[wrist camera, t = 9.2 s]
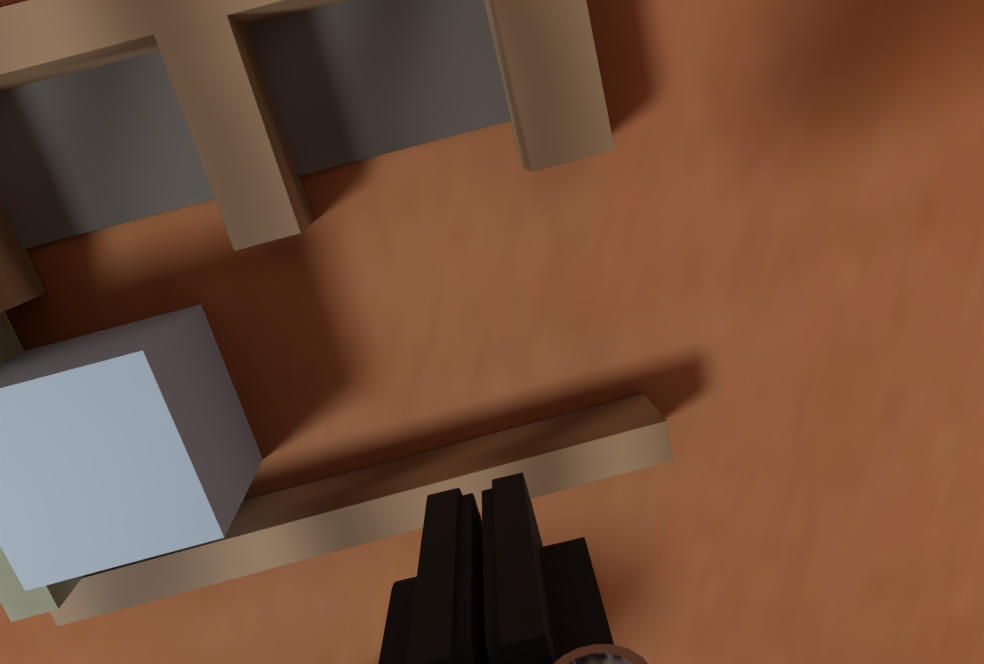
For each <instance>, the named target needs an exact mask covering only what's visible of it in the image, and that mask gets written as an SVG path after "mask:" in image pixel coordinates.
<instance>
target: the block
mask: <svg viewBox="0 0 984 664" xmlns="http://www.w3.org/2000/svg"><path fill="white" fill-rule="evenodd" d="M262 461H263V458H262V456H261V453H260V451H259V448H258V446H257V443H256V441H255V438H254V436H253V433H252V431H251V428H250V426H249V423H248V421H247V418H246V416H245V413H244V411H243V408H242V406H241V403H240V401H239V398H238V396H237V393H236V391H235V388H234V385H233V383H232V380H231V378H230V375H229V373H228V370H227V368H226V365H225V363H224V360H223V358H222V355H221V353H220V350H219V348H218V345H217V343H216V340H215V338H214V335H213V333H212V330H211V328H210V325H209V323H208V320H207V317H206V315H205V312H204V310H203V307H202V305H201V304H200V305H196V306H192V307H188V308H185V309H181V310H177V311H173V312H169V313H166V314H162V315H158V316H154V317H151V318H147V319H143V320H139V321H136V322H132V323H128V324H124V325H121V326H117V327H113V328H109V329H106V330H102V331H98V332H94V333H91V334H87V335H83V336H79V337H75V338H72V339H68V340H64V341H60V342H57V343H53V344H49V345H45V346H42V347H38V348H34V349H30V350H27V351H25V352H23V353H21V354H20V355H18V356H16V357H14V358H12V359H11V360H9V361H7V362H5V363H4V364H2V365H0V547H1V548H2V550H3V552H4V554H5V556H6V557H7V559H8V561H9V563H10V565H11V566H12V568H13V570H14V572H15V574H16V575H17V577H18V579H19V581H20V583H21V584H22V586H23V588H24V590H25V591H27V590H31V589H35V588H38V587H42V586H46V585H49V584H53V583H57V582H61V581H64V580H68V579H72V578H76V577H79V576H83V575H87V574H91V573H94V572H98V571H102V570H105V569H109V568H113V567H117V566H120V565H124V564H128V563H132V562H135V561H139V560H143V559H146V558H150V557H154V556H158V555H161V554H165V553H169V552H173V551H176V550H180V549H184V548H187V547H191V546H195V545H199V544H202V543H206V542H210V541H214V540H217V539H221V538H224V537H225V535H226V533H227V531H228V529H229V527H230V525H231V523H232V521H233V519H234V517H235V515H236V513H237V511H238V509H239V507H240V505H241V503H242V501H243V499H244V497H245V495H246V493H247V491H248V489H249V487H250V485H251V483H252V481H253V479H254V477H255V475H256V473H257V471H258V469H259V467H260V465H261V463H262Z"/></svg>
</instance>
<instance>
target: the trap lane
mask: <svg viewBox="0 0 984 664" xmlns="http://www.w3.org/2000/svg"><path fill="white" fill-rule="evenodd" d="M510 120H511V124H512V128H513V132H514V136H515V141H516V145H517V149H518V154H519V158H520V162H521V167H523V168H526V169H528V170H530V171H532V172H533V171H537V170H540V169H544V168H548V167H552V166H555V165H559V164H563V163H567V162H571V161H574V160H578V159H582V158H586V157H589V156H593V155H597V154H601V153H604V152H608V151H612V150H615V149H614V144H613V138H612V133H611V128H610V123H609V117H608V112H607V107H606V101H605V96H604V91H603V86H602V80H601V75H600V70H599V65H598V59H597V54H596V49H595V44H594V38H593V33H592V28H591V23H590V17H589V12H588V7H587V2H586V0H27V1H23V2H20V3H16V4H12V5H8V6H4V7H0V365H2V364H4V363H5V362H7V361H9V360H11V359H12V358H14V357H16V356H18V355H20V354H21V353H23V352H25V351H24V349H23V347H22V345H21V343H20V341H19V338H18V336H17V334H16V332H15V330H14V328H13V326H12V324H11V322H10V320H9V318H8V316H7V314H6V312H5V311H6V310H8V309H11V308H13V307H15V306H18V305H20V304H22V303H24V302H27V301H29V300H31V299H33V298H36V297H38V296H40V295H43V294H45V293H47V292H46V290H45V288H44V286H43V284H42V282H41V279H40V277H39V275H38V273H37V271H36V269H35V267H34V264H33V262H32V260H31V258H30V256H29V254H28V252H27V250H26V249H27V248H30V247H34V246H38V245H42V244H45V243H49V242H53V241H57V240H61V239H64V238H68V237H72V236H76V235H79V234H83V233H87V232H91V231H94V230H98V229H102V228H106V227H110V226H113V225H117V224H121V223H125V222H128V221H132V220H136V219H140V218H144V217H147V216H151V215H155V214H159V213H162V212H166V211H170V210H174V209H178V208H181V207H185V206H189V205H193V204H196V203H200V202H204V201H208V200H212V199H215V200H216V203H217V206H218V208H219V211H220V214H221V216H222V219H223V222H224V224H225V227H226V230H227V232H228V235H229V238H230V241H231V243H232V246H233V249H234V251H236V250H239V249H243V248H247V247H251V246H254V245H258V244H262V243H266V242H269V241H273V240H277V239H281V238H284V237H288V236H292V235H296V234H300V233H302V232H303V231H304V230H305V229H306V228H307V227H309V226H310V225H311V224H312V223H313V222H314V219H313V216H312V213H311V210H310V207H309V204H308V201H307V197H306V194H305V191H304V188H303V185H302V182H301V179H300V176H302V175H306V174H310V173H313V172H317V171H321V170H325V169H329V168H332V167H336V166H340V165H344V164H347V163H351V162H355V161H359V160H362V159H366V158H370V157H374V156H378V155H381V154H385V153H389V152H393V151H396V150H400V149H404V148H408V147H412V146H415V145H419V144H423V143H427V142H430V141H434V140H438V139H442V138H446V137H449V136H453V135H457V134H461V133H464V132H468V131H472V130H476V129H480V128H483V127H487V126H491V125H495V124H498V123H502V122H506V121H510ZM672 460H674V459H673V454H672V449H671V444H670V438H669V433H668V428H667V423H666V420H665V419H664V418H663V416H662V415H661V414H660V412H659V411H658V410H657V409H656V407H655V406H654V405H653V404H652V402H651V401H650V400H649V399H648V397H647V396H646V395H645V394H644V393H642V394H638V395H634V396H630V397H627V398H623V399H619V400H616V401H612V402H608V403H604V404H601V405H597V406H593V407H590V408H586V409H582V410H578V411H575V412H571V413H567V414H564V415H560V416H556V417H552V418H549V419H545V420H541V421H537V422H534V423H530V424H526V425H523V426H519V427H515V428H511V429H508V430H504V431H500V432H497V433H493V434H489V435H485V436H482V437H478V438H474V439H471V440H467V441H463V442H459V443H456V444H452V445H448V446H445V447H441V448H437V449H433V450H430V451H426V452H422V453H418V454H415V455H411V456H407V457H404V458H400V459H396V460H392V461H389V462H385V463H381V464H378V465H374V466H370V467H366V468H363V469H359V470H355V471H352V472H348V473H344V474H340V475H337V476H333V477H329V478H326V479H322V480H318V481H314V482H311V483H307V484H303V485H299V486H296V487H292V488H288V489H285V490H281V491H277V492H273V493H270V494H266V495H262V496H259V497H255V498H251V499H247V500H244V501H242V503H241V505H240V507H239V509H238V511H237V513H236V515H235V517H234V519H233V521H232V523H231V525H230V527H229V529H228V531H227V533H226V535H225V537H224V538H221V539H217V540H214V541H210V542H206V543H202V544H199V545H195V546H191V547H187V548H184V549H180V550H176V551H173V552H169V553H165V554H161V555H158V556H154V557H150V558H146V559H143V560H139V561H135V562H132V563H128V564H124V565H120V566H117V567H113V568H109V569H105V570H102V571H98V572H94V573H91V574H87V575H83V576H79V577H76V578H72V579H68V580H64V581H61V582H57V583H53V584H49V585H46V586H42V587H38V588H35V589H31V590H27V591H25V590H24V588H23V586H22V584H21V583H20V581H19V579H18V577H17V575H16V574H15V572H14V570H13V568H12V566H11V565H10V563H9V561H8V559H7V557H6V556H5V554H4V552H3V550H2V548H1V547H0V603H1V604H2V606H3V608H4V610H5V611H6V613H7V615H8V617H9V618H10V620H11V622H12V621H15V620H19V619H23V618H27V617H30V616H34V615H38V614H41V613H45V612H50V613H51V615H52V617H53V619H54V621H55V623H56V624H57V626H60V625H64V624H68V623H72V622H75V621H79V620H83V619H86V618H90V617H94V616H98V615H101V614H105V613H109V612H112V611H116V610H120V609H123V608H127V607H131V606H135V605H138V604H142V603H146V602H149V601H153V600H157V599H160V598H164V597H168V596H172V595H175V594H179V593H183V592H186V591H190V590H194V589H198V588H201V587H205V586H209V585H212V584H216V583H220V582H223V581H227V580H231V579H235V578H238V577H242V576H246V575H249V574H253V573H257V572H261V571H264V570H268V569H272V568H275V567H279V566H283V565H286V564H290V563H294V562H298V561H301V560H305V559H309V558H312V557H316V556H320V555H324V554H327V553H331V552H335V551H338V550H342V549H346V548H349V547H353V546H357V545H361V544H364V543H368V542H372V541H375V540H379V539H383V538H386V537H390V536H394V535H398V534H401V533H405V532H409V531H412V530H416V529H420V528H423V525H424V517H425V509H426V501H427V496H428V495H430V494H434V493H438V492H442V491H447V490H451V489H455V488H460V490H461V492H462V495H466V494H470V493H473V494H474V497H475V500H476V503H477V506H478V510H479V512H482V491H483V490H487V489H491V488H492V479H496V478H501V477H505V476H509V475H513V474H517V473H521V472H523V474H524V478H525V481H526V485H527V488H528V492H529V496H530V499H531V498H535V497H538V496H542V495H546V494H550V493H553V492H557V491H561V490H564V489H568V488H572V487H575V486H579V485H583V484H587V483H590V482H594V481H598V480H601V479H605V478H609V477H612V476H616V475H620V474H624V473H627V472H631V471H635V470H638V469H642V468H646V467H650V466H653V465H657V464H661V463H664V462H668V461H672Z"/></svg>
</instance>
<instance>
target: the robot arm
mask: <svg viewBox="0 0 984 664" xmlns="http://www.w3.org/2000/svg"><path fill="white" fill-rule="evenodd" d="M379 664H648V663H647V662H646V661H645V659H644V658H643V657H642V656H640V655H638V654H637V653H635V652H633V651H632V650H630V649H628V648H624V647H621V646H617V645H614V643H613V639H612V636H611V632H610V628H609V625H608V621H607V618H606V614H605V610H604V607H603V603H602V599H601V596H600V592H599V588H598V585H597V581H596V578H595V574H594V570H593V567H592V563H591V559H590V556H589V552H588V548H587V545H586V541H585V538H584V537H582V538H578V539H574V540H570V541H566V542H561V543H557V544H553V545H549V546H544V547H543V545H542V541H541V537H540V533H539V530H538V526H537V522H536V518H535V515H534V511H533V507H532V503H531V500H530V496H529V492H528V488H527V485H526V481H525V478H524V474H523V472H521V473H517V474H513V475H509V476H505V477H501V478H496V479H492V488H491V489H487V490H483V491H482V520H481V517H480V513H479V510H478V506H477V503H476V500H475V497H474V494H473V493H470V494H466V495H462V492H461V490H460V488H455V489H451V490H447V491H442V492H438V493H434V494H430V495H428V496H427V501H426V509H425V517H424V525H423V533H422V540H421V548H420V556H419V564H418V572H417V577H413V578H409V579H404V580H400V581H396V582H395V583H394V584H393V587H392V591H391V596H390V602H389V608H388V613H387V619H386V625H385V630H384V636H383V641H382V647H381V653H380V658H379Z"/></svg>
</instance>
